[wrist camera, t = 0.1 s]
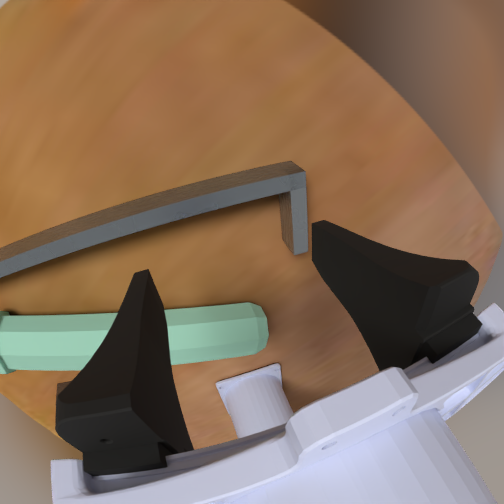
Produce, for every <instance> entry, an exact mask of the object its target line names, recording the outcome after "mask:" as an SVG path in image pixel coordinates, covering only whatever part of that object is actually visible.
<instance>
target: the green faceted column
mask: <svg viewBox="0 0 504 504" xmlns="http://www.w3.org/2000/svg"><path fill="white" fill-rule="evenodd" d="M164 311H165V316H166V321H167V327H168V338H169V349H170V359H171V365H175V364H185V363H194V362H202V361H210V360H218V359H225V358H233V357H239V356H246V355H252V354H256V353H258V352H259V351H261V350H262V349H264V348H265V347H266V344H267V340H268V337H269V333H268V325H267V318H266V316H265V314H264V312H263V310H262V308H261V306H258V305H255V304H253V303H250V302H248V303H238V304H228V305H218V306H207V307H195V308H183V309H169V310H164ZM117 314H118V313H103V314H78V315H40V316H10V315H9V312H6V311H0V374H8V373H11V372H14V371H16V369H18V370H82V369H83V368H84V367H85V365H86V364H87V363H88V362H89V360H90V359H91V357H92V356H93V355H94V353H95V352H96V350H97V349H98V348H99V346H100V345H101V343H102V342H103V340H104V338H105V337H106V335H107V333H108V331H109V330H110V328H111V326H112V324H113V322H114V320H115V318H116V316H117Z"/></svg>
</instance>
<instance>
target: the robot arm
mask: <svg viewBox="0 0 504 504" xmlns="http://www.w3.org/2000/svg"><path fill="white" fill-rule="evenodd" d="M312 261H313V263H314V265H315V266H316V268H317V270H318V272H319V274H320V275H321V277H322V278H323V280H324V281H325V282H326V284H327V285H328V286H329V288H330V289H331V290H332V292H333V293H334V294H335V296H336V297H337V298H338V299H339V301H340V302H341V303H342V305H343V306H344V307H345V309H346V310H347V311H348V313H349V314H350V316H351V317H352V318H353V320H354V322H355V324H356V325H357V327H358V329H359V331H360V332H361V334H362V336H363V338H364V340H365V342H366V343H367V345H368V347H369V349H370V351H371V353H372V355H373V358H374V360H375V362H376V364H377V366H378V368H379V372H377V373H375V374H373V375H371V376H369V377H367V378H365V379H363V380H361V381H359V382H357V383H354V384H352V385H350V386H348V387H346V388H343V389H341V390H339V391H337V392H334V393H332V394H330V395H327V396H325V397H322V398H320V399H318V400H315V401H313V402H311V403H309V404H308V405H306V406H304V407H302V408H300V409H299V410H298V411H296V412H295V413H293V411H292V409H291V406H290V404H289V402H288V400H287V398H286V396H285V393H284V391H283V389H282V378H281V368H280V365H279V363H275V364H272V365H269V366H267V367H264V368H261V369H258V370H254V371H251V372H248V373H245V374H242V375H239V376H235V377H232V378H229V379H225V380H222V381H219V382H217V383H216V387H217V389H218V392H219V394H220V396H221V398H222V400H223V402H224V405H225V407H226V409H227V411H228V413H229V415H231V418H232V422H233V425H234V428H235V431H236V434H237V436H238V439H235V440H232V441H228V442H225V443H221V444H217V445H213V446H209V447H205V448H201V449H197V450H194V449H193V446H192V443H191V440H190V437H189V434H188V431H187V428H186V424H185V421H184V418H183V414H182V411H181V407H180V404H179V400H178V396H177V392H176V388H175V384H174V379H173V374H172V368H171V359H170V349H169V338H168V327H167V321H166V316H165V311H164V306H163V303H162V301H161V298H160V296H159V294H158V291H157V289H156V286H155V284H154V282H153V279H152V277H151V274H150V272H149V269H147V270H143V271H140V272H136V273H135V274H134V275H133V278H132V280H131V283H130V285H129V288H128V290H127V293H126V295H125V298H124V300H123V302H122V305H121V307H120V309H119V312H118V314H117V316H116V318H115V320H114V322H113V324H112V326H111V328H110V330H109V331H108V333H107V335H106V337H105V338H104V340H103V342H102V343H101V345H100V346H99V348H98V349H97V350H96V352H95V353H94V355H93V356H92V357H91V359H90V360H89V362H88V363H87V364H86V365H85V367H84V368H83V369H82V370H81V371H80V373H79V374H78V375H77V376H76V377H75V378H74V379H73V380H72V381H71V382H70V383H69V384H68V385H67V386H66V387H65V388H64V389H63V390H62V391H61V392H60V393H59V394H58V395H57V403H56V426H55V430H56V432H57V433H58V435H59V436H60V437H61V438H62V439H64V440H65V441H66V442H68V443H69V444H71V445H72V446H74V447H75V448H77V449H78V450H80V451H81V452H83V460H79V459H58V460H51V482H52V497H53V504H497V502H496V500H495V499H494V497H493V495H492V494H491V492H490V490H489V489H488V487H487V485H486V484H485V482H484V481H483V479H482V477H481V476H480V474H479V473H478V471H477V469H476V468H475V466H474V465H473V463H472V462H471V460H470V459H469V457H468V455H467V454H466V453H465V451H464V450H463V448H462V446H461V445H460V443H459V442H458V440H457V439H456V437H455V436H454V435H453V433H452V432H451V430H450V429H449V427H448V426H447V424H446V423H445V421H446V420H447V419H449V418H450V417H451V416H452V415H454V414H455V413H456V412H457V411H459V410H460V409H461V408H462V407H463V406H465V405H466V404H467V403H468V402H469V401H471V400H472V399H473V398H474V397H475V396H476V395H477V394H478V393H480V392H481V391H482V390H483V389H484V388H485V387H486V386H487V385H488V384H490V383H491V382H492V381H493V380H494V379H495V378H496V377H497V376H498V375H499V374H500V373H501V372H503V370H504V312H503V311H502V310H501V309H500V308H499V307H498V306H497V305H496V304H495V303H493V304H491V305H490V306H488V307H487V308H486V309H484V310H483V311H482V312H480V313H479V315H478V316H477V317H476V316H475V315H474V314H473V313H472V312H474V307H473V306H472V305H471V304H470V302H471V300H472V297H473V295H474V293H475V290H476V288H477V285H478V282H479V273H478V271H477V270H475V269H474V268H473V267H472V266H471V265H470V264H469V263H468V262H467V261H465V260H450V259H440V258H433V257H427V256H421V255H417V254H412V253H408V252H404V251H401V250H398V249H394V248H391V247H388V246H385V245H382V244H380V243H377V242H375V241H372V240H370V239H367V238H365V237H362V236H360V235H358V234H355V233H353V232H351V231H349V230H347V229H344V228H342V227H340V226H338V225H335V224H333V223H331V222H328V221H325V220H322V221H319V222H315V223H312Z"/></svg>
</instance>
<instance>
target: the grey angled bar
mask: <svg viewBox="0 0 504 504" xmlns="http://www.w3.org/2000/svg"><path fill="white" fill-rule="evenodd" d="M275 194H279V203H280V214H281V226H282V239H283V241H284V242H285V244H286V245H287V246H288V248H289V249H290V250H291V252H292V253H293V254H294V255H297V254H300V253H304V252H307V251H308V225H307V196H306V174H305V171H304V170H303V169H302V168H300V167H299V166H297V165H296V164H295V163H293V162H292V161H287V162H283V163H278V164H273V165H268V166H264V167H259V168H254V169H250V170H246V171H241V172H237V173H233V174H229V175H224V176H220V177H216V178H212V179H208V180H204V181H200V182H197V183H193V184H189V185H185V186H182V187H178V188H174V189H171V190H167V191H164V192H160V193H157V194H153V195H150V196H146V197H143V198H140V199H136V200H133V201H130V202H126V203H123V204H120V205H117V206H114V207H111V208H108V209H104V210H101V211H98V212H95V213H92V214H89V215H87V216H84V217H81V218H78V219H75V220H72V221H69V222H66V223H64V224H61V225H58V226H55V227H53V228H50V229H47V230H45V231H42V232H39V233H37V234H34V235H32V236H29V237H27V238H24V239H22V240H19V241H17V242H14V243H12V244H9V245H7V246H4V247H2V248H0V278H1V277H3V276H6V275H9V274H11V273H14V272H17V271H20V270H22V269H25V268H28V267H31V266H34V265H36V264H39V263H42V262H45V261H48V260H51V259H54V258H57V257H60V256H63V255H66V254H69V253H72V252H75V251H78V250H81V249H84V248H87V247H90V246H93V245H96V244H99V243H102V242H106V241H109V240H112V239H115V238H118V237H122V236H125V235H128V234H131V233H135V232H138V231H141V230H145V229H148V228H152V227H155V226H158V225H162V224H165V223H169V222H172V221H176V220H179V219H183V218H187V217H190V216H194V215H198V214H201V213H205V212H209V211H212V210H216V209H220V208H224V207H227V206H231V205H235V204H239V203H243V202H247V201H251V200H255V199H259V198H263V197H267V196H271V195H275Z"/></svg>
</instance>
